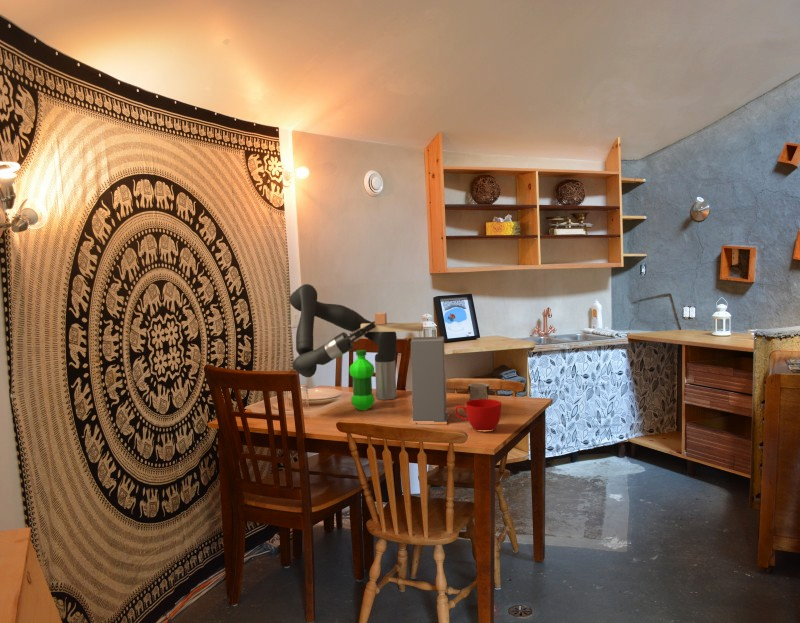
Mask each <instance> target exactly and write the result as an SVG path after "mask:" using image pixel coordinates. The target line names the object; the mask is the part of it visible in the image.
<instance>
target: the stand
mask: <svg viewBox="0 0 800 623" xmlns="http://www.w3.org/2000/svg"><path fill="white" fill-rule="evenodd" d="M410 357H411V358H410V366H411V368H410V369H412V374H411V402H412V401H413V406H412V417H411V419H412V418H413V421H434V422H447V423H448V421H447V419H448V420H449V416H448V414H449V412H447V404H446V400H447V394H446V395H445V358H446V357H445V336H413V338H412V339H411V341H410ZM449 415H450V414H449Z"/></svg>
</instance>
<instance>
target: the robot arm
mask: <svg viewBox="0 0 800 623" xmlns="http://www.w3.org/2000/svg"><path fill="white" fill-rule="evenodd" d="M289 303H290V305H291V307H293V308H294V309H295V310H297V311H299V312H300V317H299V321H298V324H297V329H296V333H295V350H296V352H297V353H298V356H297V357H295V358H294V360H293V362H292V369H293V370H294V371H295V370H296V371H298V373H297V374H299V375H301V376H302V377H304V378H312V377H313V376H314V375H315V374H316V372H317V367H318V366H317V365H321V366H324V365H326V364H327V365H328V364H329V363H331V362H332V361H333V360H335V359H337V358H340V357H341V356H343V355H344V354H346V353H348V352H349V351H352V350H353V348H354V344H353V342H354V343H356V342H357V341H359V340H360V339H361V338H363V337H365V338H366V339H368V340H369V341H371V342H373V343H374V344H376V345H377V348H378V351H377V353H376V354H375V355H374V374H375V398H376V399H377V400H379V401H380V400H382V401H384V400H385V401H387V400H394V399H396V398H397V378H396V376H397V375H396V374H397V373H396V356H397V353H398V352H397V349H398V348H397V347H398V346H397V345H398V343H397V342H398V339H397V337H398V336H397V332H367V331H370V330H372V329H373V328H375V324H374V323H375V320H374V321H371V320H368V319H366V318H364V316H362V315H361V314H360V313H358V312H357V311H355V310H354V309H351V308H349V307H347V306H345V305H341V304H337V303H336V304H334V303H324V302H321V301H318V292H317V289H316V288H315V286H313V285H312V284H309V283H304V284H302V285H301V286H299V287H298V288H297V289H295V291H293V292H292V293H291V295H290V296H289ZM315 317H316V318H319V319H321V320H324V321H326V322H327V323H331V324H332V325H335V326H336V327H338V328H341V329H343V330H346V331H347V332H348V331H349V332H350V333H349V334H347V333H346V332H344V331H343V332H341V333H339V334H338V335H336V336H334V337H333V338H330V340H328V341H327V342H326V343H325V344H324V343H323V345H321V346H319V347H318V348H316V349H314V327H315V325H314V323H315ZM362 323H370V324H369V325H367V326H366V327H363V328H362V329H361V324H362ZM296 371H295V372H296Z"/></svg>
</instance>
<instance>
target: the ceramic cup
mask: <svg viewBox="0 0 800 623" xmlns="http://www.w3.org/2000/svg"><path fill="white" fill-rule="evenodd" d="M458 409H463V410H464V412H465V413H466V417H467V418H466V417H463V416H461V415H460V414H459V412H458ZM454 412H455V415H456V417H457V418H459V419H461V420H463V421H466V422H468V423H469V424H470V426H471V427H472V428H473V429H474V430H475V429H476V430H492V429H493V430H495V429H496V427H497V426H498V425H499V422H500V419H501V416H502V402H501V401H499V400H497V399H496V400H495V399H491V398H488V399H476V400H470V401H469V400H468V401H466V402H465V406H463V405H457V406H456V407H455V409H454Z"/></svg>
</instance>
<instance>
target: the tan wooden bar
mask: <svg viewBox="0 0 800 623" xmlns="http://www.w3.org/2000/svg"><path fill="white" fill-rule="evenodd" d="M369 324H370V323H362V324H361V329H362V328H363V327H366V326H367V325H369ZM374 324H375V323H374ZM423 330H424V322H387V323H386V324H375V328H373V329H372V330H370V331H367V332H396V333H398V332H399V333H400V332H401V333H402V332H423Z"/></svg>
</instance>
